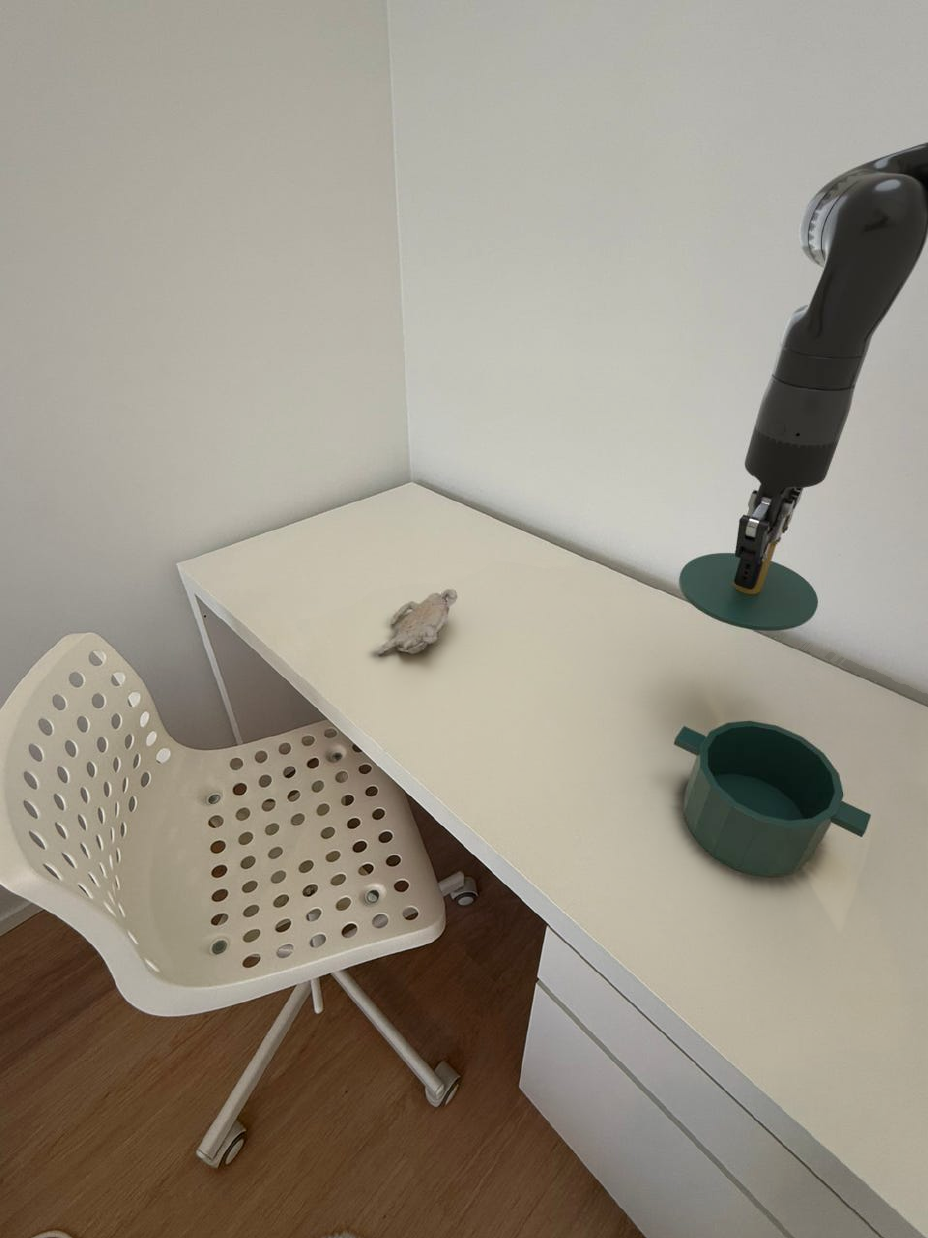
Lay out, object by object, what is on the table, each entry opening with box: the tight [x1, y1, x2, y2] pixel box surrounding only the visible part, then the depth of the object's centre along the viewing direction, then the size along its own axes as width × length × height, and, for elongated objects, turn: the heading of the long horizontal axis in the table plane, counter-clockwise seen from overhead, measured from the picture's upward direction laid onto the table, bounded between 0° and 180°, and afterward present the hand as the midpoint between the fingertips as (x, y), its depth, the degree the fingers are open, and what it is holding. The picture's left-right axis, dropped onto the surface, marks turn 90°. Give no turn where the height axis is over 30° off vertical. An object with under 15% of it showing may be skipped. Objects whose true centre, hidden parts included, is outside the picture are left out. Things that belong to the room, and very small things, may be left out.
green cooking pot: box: [673, 720, 872, 878], centre depth 69 cm, size 14×19×8 cm
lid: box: [678, 541, 819, 632], centre depth 71 cm, size 15×15×7 cm
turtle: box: [378, 588, 458, 655], centre depth 95 cm, size 16×10×10 cm, turn 7°
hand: (750, 578), depth 72 cm, fingers closed on lid, 3 cm apart
